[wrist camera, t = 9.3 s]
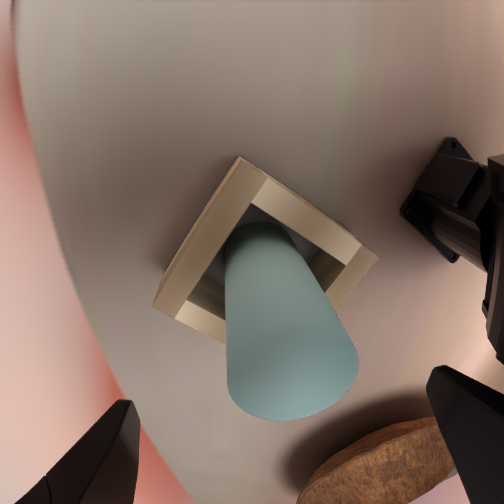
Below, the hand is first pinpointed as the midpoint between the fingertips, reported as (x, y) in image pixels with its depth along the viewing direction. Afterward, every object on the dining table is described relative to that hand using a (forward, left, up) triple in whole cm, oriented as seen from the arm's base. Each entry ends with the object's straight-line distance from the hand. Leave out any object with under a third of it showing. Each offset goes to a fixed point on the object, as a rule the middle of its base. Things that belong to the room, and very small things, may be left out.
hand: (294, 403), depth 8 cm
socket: (0, 0, -11) cm, 11 cm away
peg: (0, 0, -11) cm, 11 cm away
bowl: (-25, +13, -12) cm, 31 cm away
